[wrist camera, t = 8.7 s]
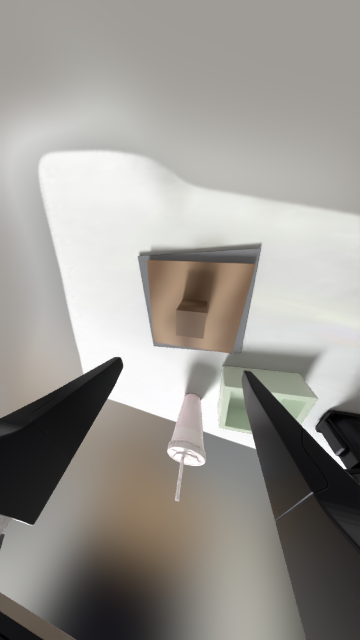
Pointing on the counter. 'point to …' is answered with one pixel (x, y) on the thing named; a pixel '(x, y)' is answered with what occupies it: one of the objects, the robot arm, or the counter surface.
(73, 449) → the robot arm
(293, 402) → the dish
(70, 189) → the counter surface
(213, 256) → the mat
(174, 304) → the lid
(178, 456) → the smoothie
